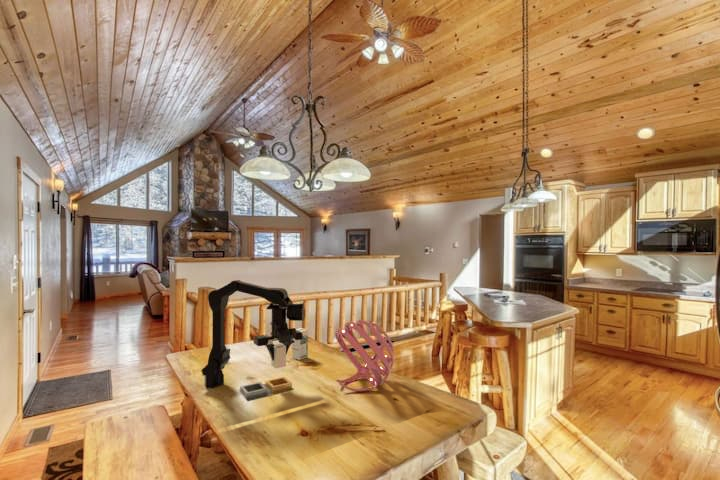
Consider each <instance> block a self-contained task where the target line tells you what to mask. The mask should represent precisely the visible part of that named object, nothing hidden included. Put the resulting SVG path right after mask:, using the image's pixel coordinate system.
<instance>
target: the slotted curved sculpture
mask: <svg viewBox="0 0 720 480" xmlns="http://www.w3.org/2000/svg"><path fill="white" fill-rule="evenodd" d="M364 325H365V326H366V327H367V328H368V329H369V330H370V331H371V333H372V335H373V337H375V339H376V340H377V342H379V344H380V346H379V345H378V344H377V343H376V342H375V340H374V339H373V338H372V336H370V334H369V333H368V332H367V331H366V330H365V327H364ZM352 329H353V330H354V331H356V333H358V335H360V336H361V337H362V338H363V339H364V341H365V343H366V344H367V345H368V346H369V348H370V349H371V350H372V351H373V352H374V355H373V356H370V354H369V353H368V352H367V351H366V349H365V348H364V347H363V346H362V344H361V343H360V341H359V340H358V339H357V337H356V335H355V334H354V332H353V330H352ZM378 330H379V331H380V332H379V331H378ZM382 334H383V335H382ZM334 337H335V339H336V341H337V343H338V345H339V347H340V349H342V351H343V353H344V354H345V355H346V357H347V358H348V359H349V361H350V362H351V363H352V364H353V365H354V367H355V368H356V369H357V372H356V373H355V374H353V375H352V376H350V377H348V378H345V379H336V380H335V381H336V382H337V383H338V384H339V385H340V386H341V387H343V389H346V390H349V391H351V392H352V391H353V392H360V393H363V392H369V391H371V390H375V389H376V388H378V387H379V386H381V385H382V384H383V383H384V382H385V381H386V380H387V379H388V377H389V376H390V374H391V372H392V370H393V367H394V362H395V351H394V344H393V342H392V339H391V338H390V336H389V335H388V334H387V333H386V331H385V330H384V329H383V328H382V327H381V326H380V325H379V324H377V323H375V322H373V321H367V320H364V319H358V320H357V319H356V322H354V321H347V322H346V323H344V328H342V327H338V328H337V329H336V330H335V331H334ZM386 339H387V340H386ZM345 340H346V341H347V342H348V344H349V345H350V346H351V347H352V348H353V349H354V350H355V352H356V353H357V354H358V355H359V356H360V358H361V359H362V361H364V363H365V365H362V364H361V363H360V361H359V360H358V359H357V358H356V357H355V355H354V354H353V353H352V351H351V350H350V349H349V347H348V345H347V344H346V342H345ZM384 348H385V349H386V351H387V352H388V354H389V356H388V355H387V354H385V353H384V351H383V350H384ZM378 360H380V362H381V363H382V365H383V367H384V368H383V367H382V365H379V363H378ZM370 371H371V373H372V375H371V373H370ZM382 376H383V377H382ZM361 377H363V378H365V379H366V380H367V381H369V383H371V385H372V386H371V387H367V388H354V387H350V386H347V385H345V384H348V383H351V382H354V381H357V380H358V379H359V378H361Z"/></svg>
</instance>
